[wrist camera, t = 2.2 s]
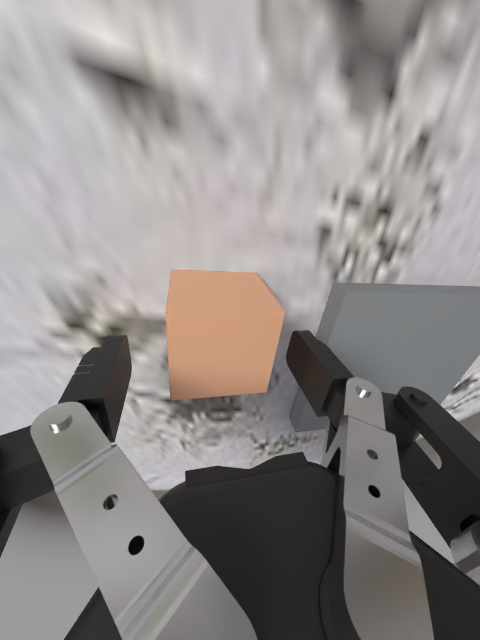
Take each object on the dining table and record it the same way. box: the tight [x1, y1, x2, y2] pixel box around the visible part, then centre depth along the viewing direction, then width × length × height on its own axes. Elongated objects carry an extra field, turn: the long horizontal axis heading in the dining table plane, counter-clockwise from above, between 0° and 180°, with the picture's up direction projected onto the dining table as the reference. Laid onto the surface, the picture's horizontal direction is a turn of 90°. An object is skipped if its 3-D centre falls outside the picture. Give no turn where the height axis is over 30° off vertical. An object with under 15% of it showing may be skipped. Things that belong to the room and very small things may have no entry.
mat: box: [290, 283, 480, 432], centre depth 21 cm, size 16×14×2 cm
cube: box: [166, 270, 285, 400], centre depth 13 cm, size 5×5×5 cm
